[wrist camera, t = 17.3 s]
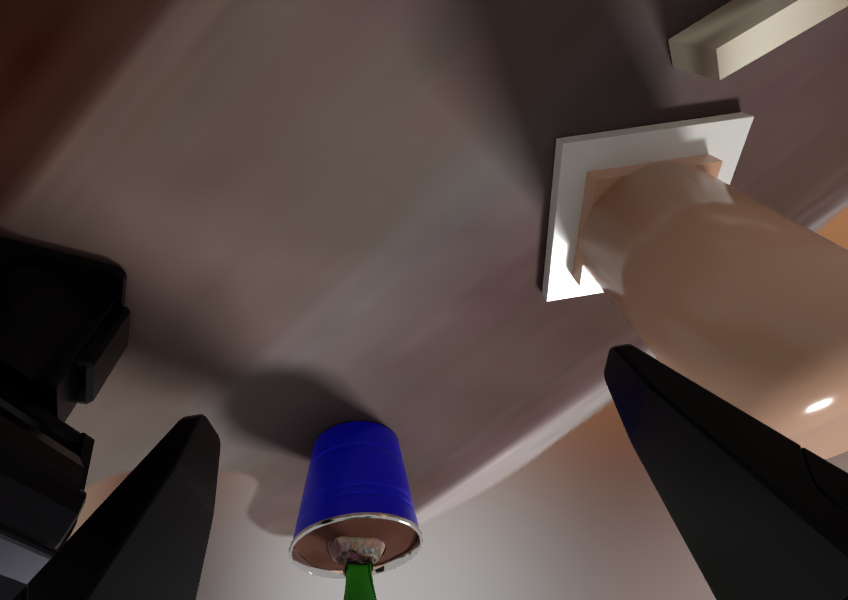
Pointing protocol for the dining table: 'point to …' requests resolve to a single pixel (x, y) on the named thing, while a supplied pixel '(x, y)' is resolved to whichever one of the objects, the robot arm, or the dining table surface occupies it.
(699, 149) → the tile
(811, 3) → the frame
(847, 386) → the peach tapered rounded piece
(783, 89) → the dining table surface
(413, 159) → the dining table surface
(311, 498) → the hyacinth
